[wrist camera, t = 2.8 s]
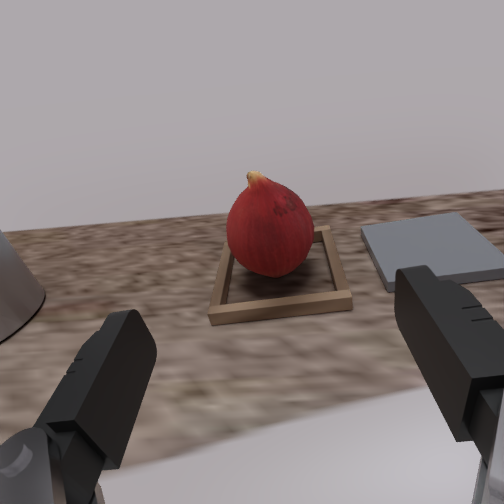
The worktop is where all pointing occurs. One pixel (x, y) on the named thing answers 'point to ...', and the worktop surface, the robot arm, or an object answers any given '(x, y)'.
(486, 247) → the coaster
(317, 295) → the square wooden frame
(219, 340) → the worktop surface
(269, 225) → the onion
